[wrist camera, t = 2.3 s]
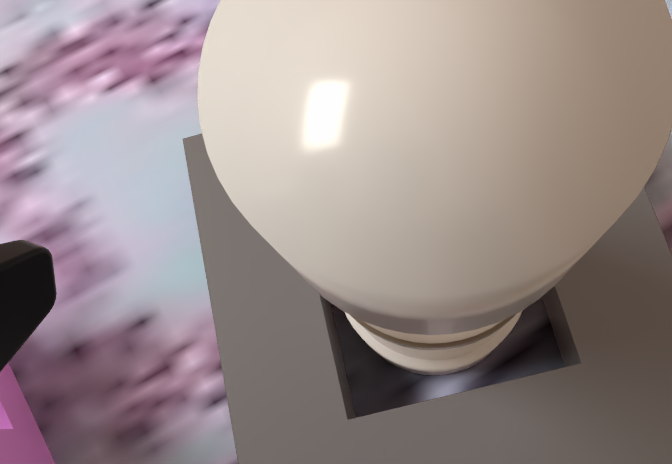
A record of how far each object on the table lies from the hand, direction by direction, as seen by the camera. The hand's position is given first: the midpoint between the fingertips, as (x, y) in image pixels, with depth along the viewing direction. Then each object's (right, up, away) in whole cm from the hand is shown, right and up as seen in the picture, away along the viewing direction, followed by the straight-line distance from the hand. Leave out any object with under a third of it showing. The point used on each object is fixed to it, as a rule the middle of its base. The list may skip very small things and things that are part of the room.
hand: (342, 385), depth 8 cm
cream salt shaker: (+3, 0, +11) cm, 11 cm away
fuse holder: (+3, 0, +11) cm, 11 cm away
